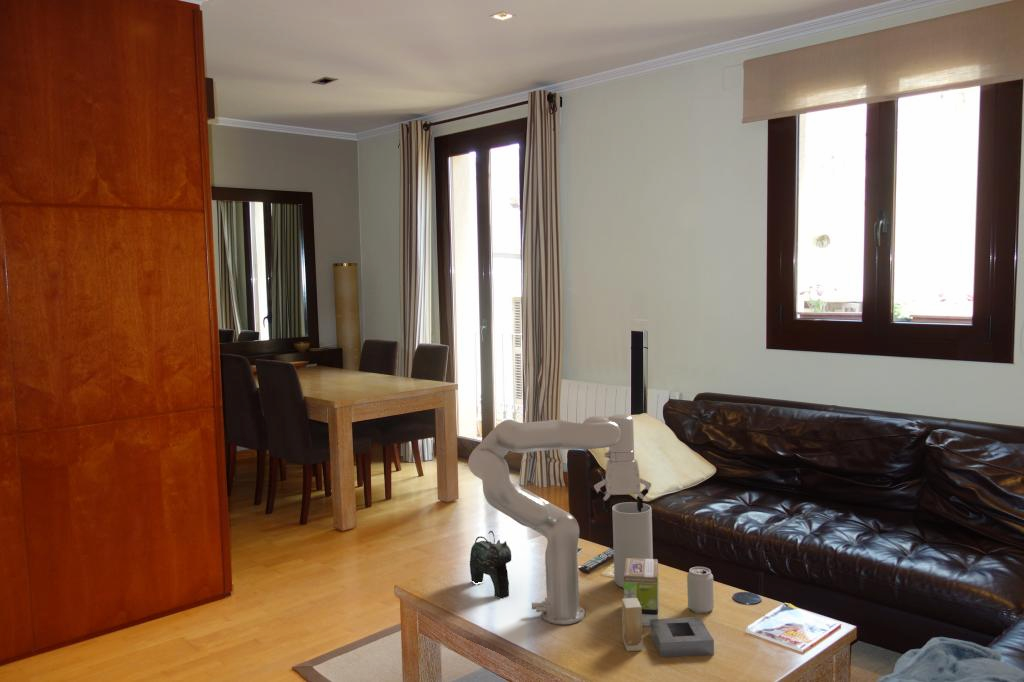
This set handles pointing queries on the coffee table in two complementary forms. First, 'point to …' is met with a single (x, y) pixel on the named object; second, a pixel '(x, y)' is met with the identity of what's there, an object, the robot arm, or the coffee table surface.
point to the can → (700, 590)
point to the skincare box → (632, 624)
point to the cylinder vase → (630, 536)
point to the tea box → (643, 586)
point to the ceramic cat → (491, 564)
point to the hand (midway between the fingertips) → (623, 511)
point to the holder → (681, 637)
